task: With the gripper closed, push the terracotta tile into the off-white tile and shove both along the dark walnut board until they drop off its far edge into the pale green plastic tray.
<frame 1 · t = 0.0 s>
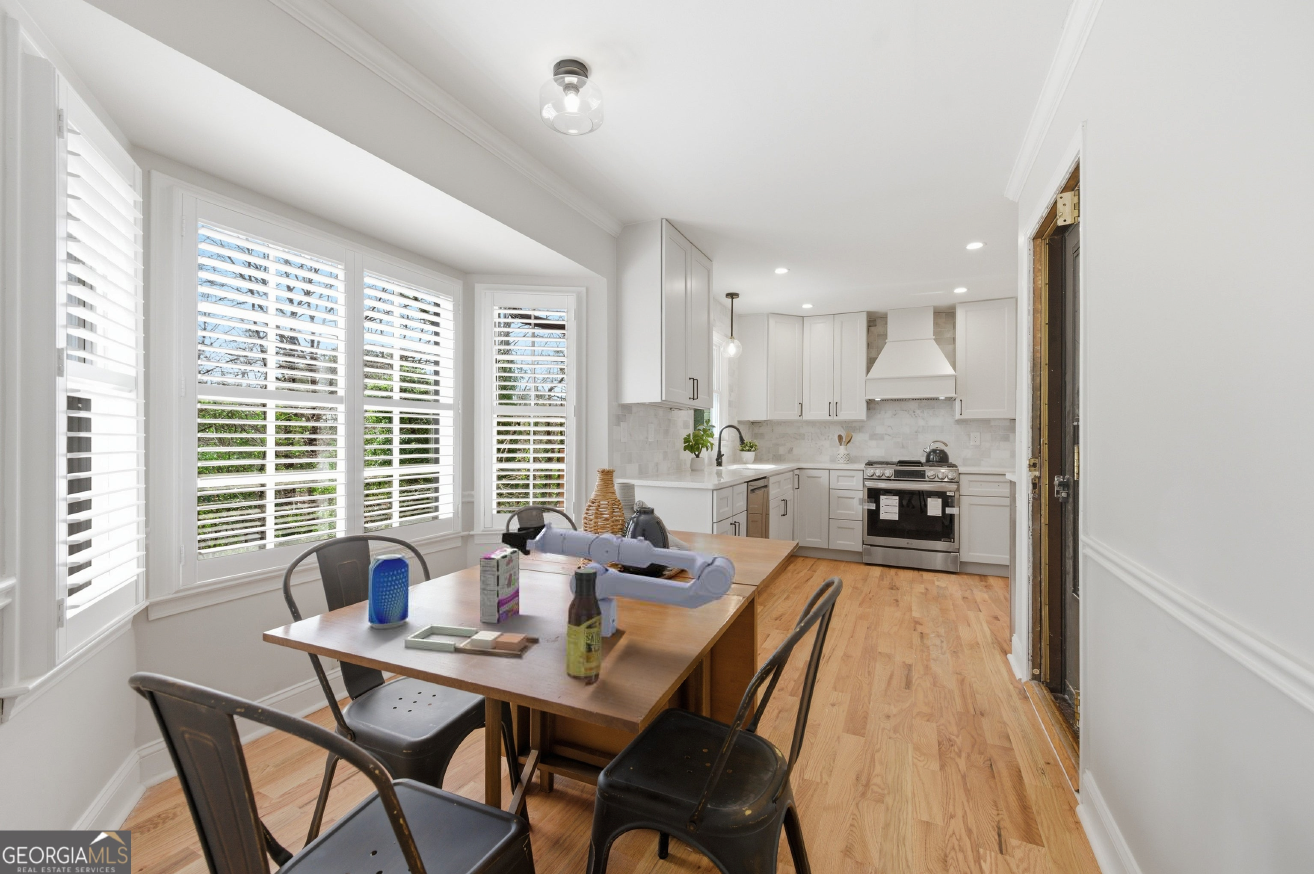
hand: (510, 534, 129), 22 cm above the table, tool horizontal, fingers open, 7 cm apart
sauce bottle: (583, 680, 104), on the table
tile 2: (511, 647, 115), point 1 cm above the table, touching board
candy bar box: (499, 622, 135), on the table
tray: (441, 647, 118), on the table
tile 1: (486, 644, 116), point 1 cm above the table, touching board
board: (497, 653, 115), on the table
beer can: (388, 624, 132), on the table
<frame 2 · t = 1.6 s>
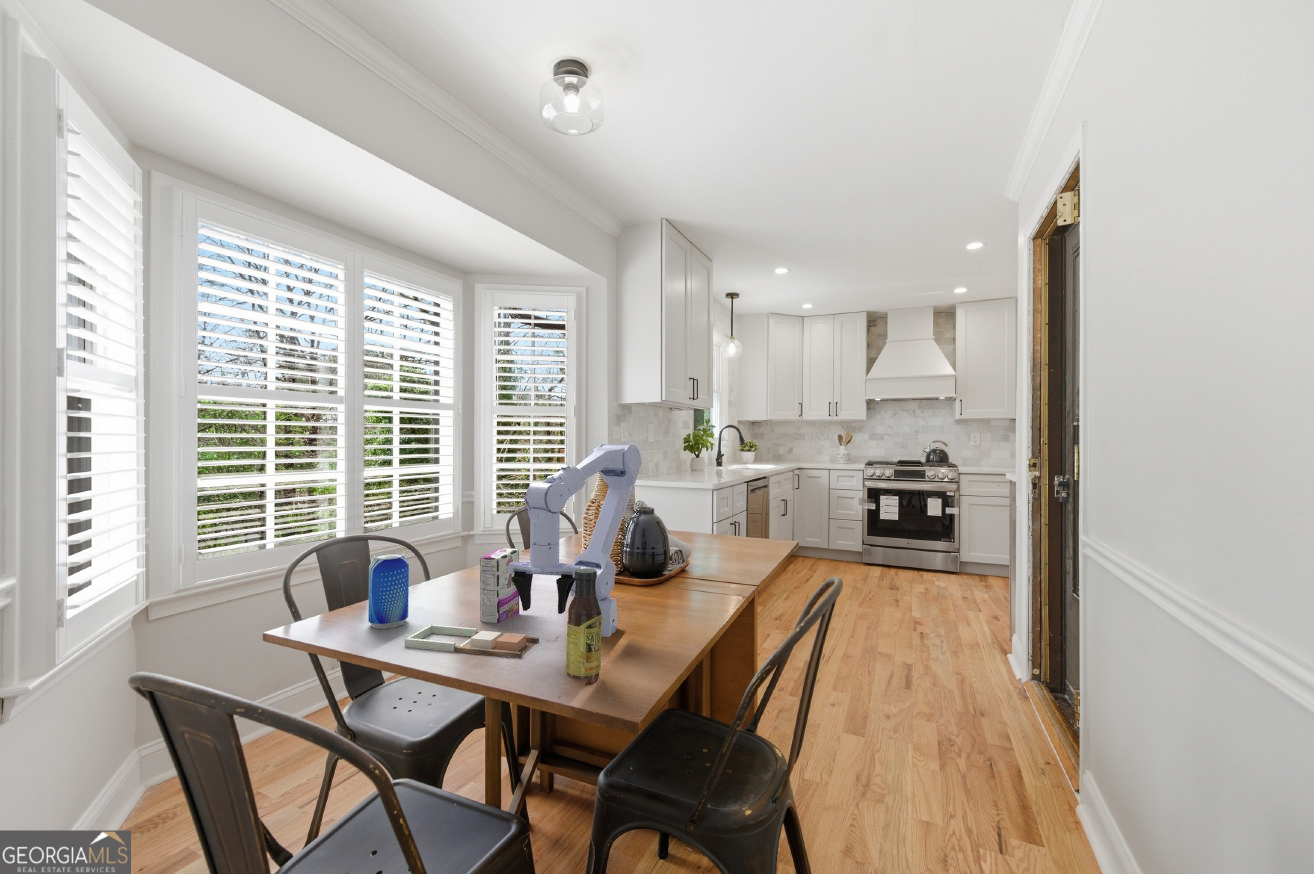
hand: (544, 610, 113), 9 cm above the table, tool pointing down, fingers open, 7 cm apart
nothing on the table moved.
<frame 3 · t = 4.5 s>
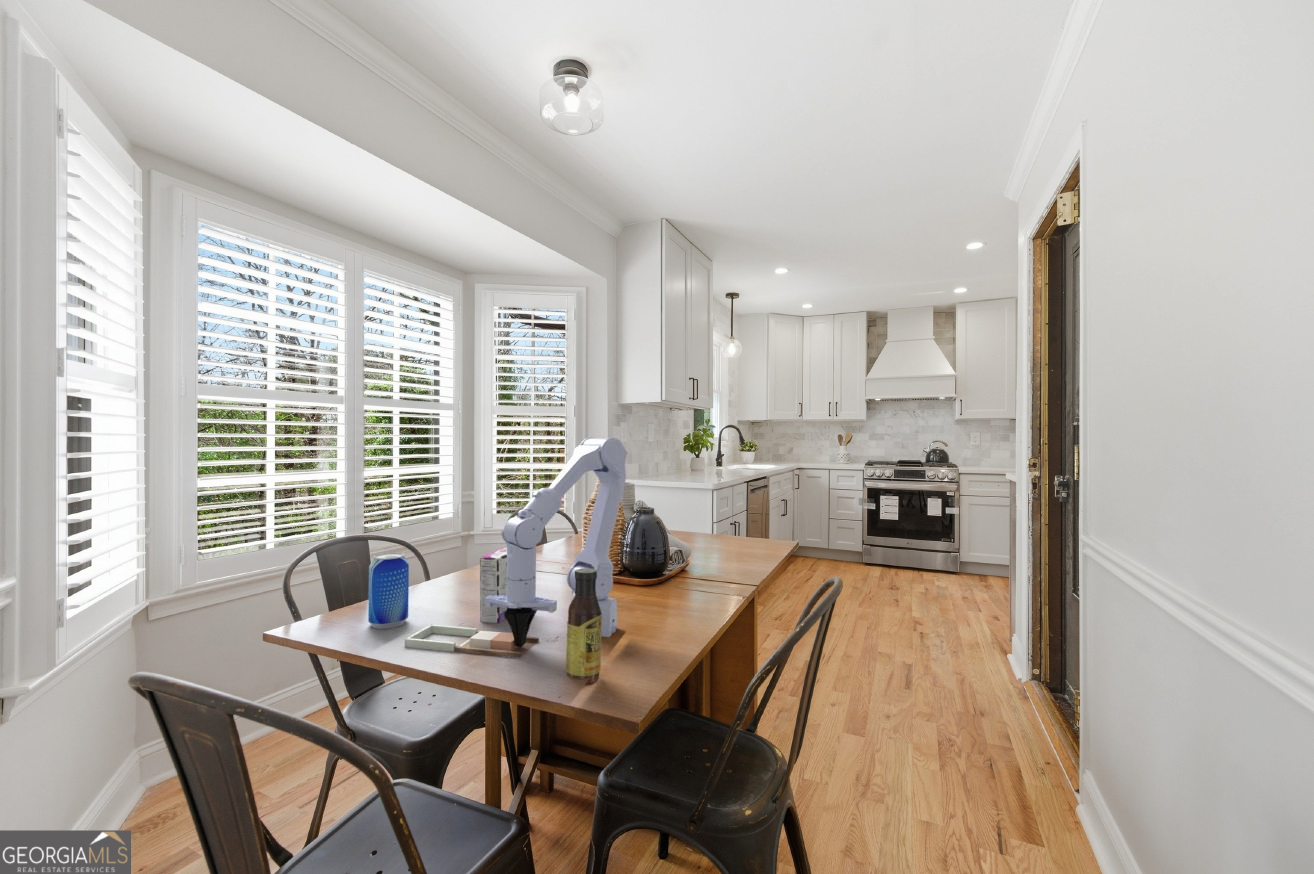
hand: (520, 644, 114), 2 cm above the table, tool pointing down, fingers closed
tile 2: (505, 646, 115), point 2 cm above the table, touching gripper, tile 1
tile 1: (485, 644, 116), point 1 cm above the table, touching board, tile 2
everything else where it was.
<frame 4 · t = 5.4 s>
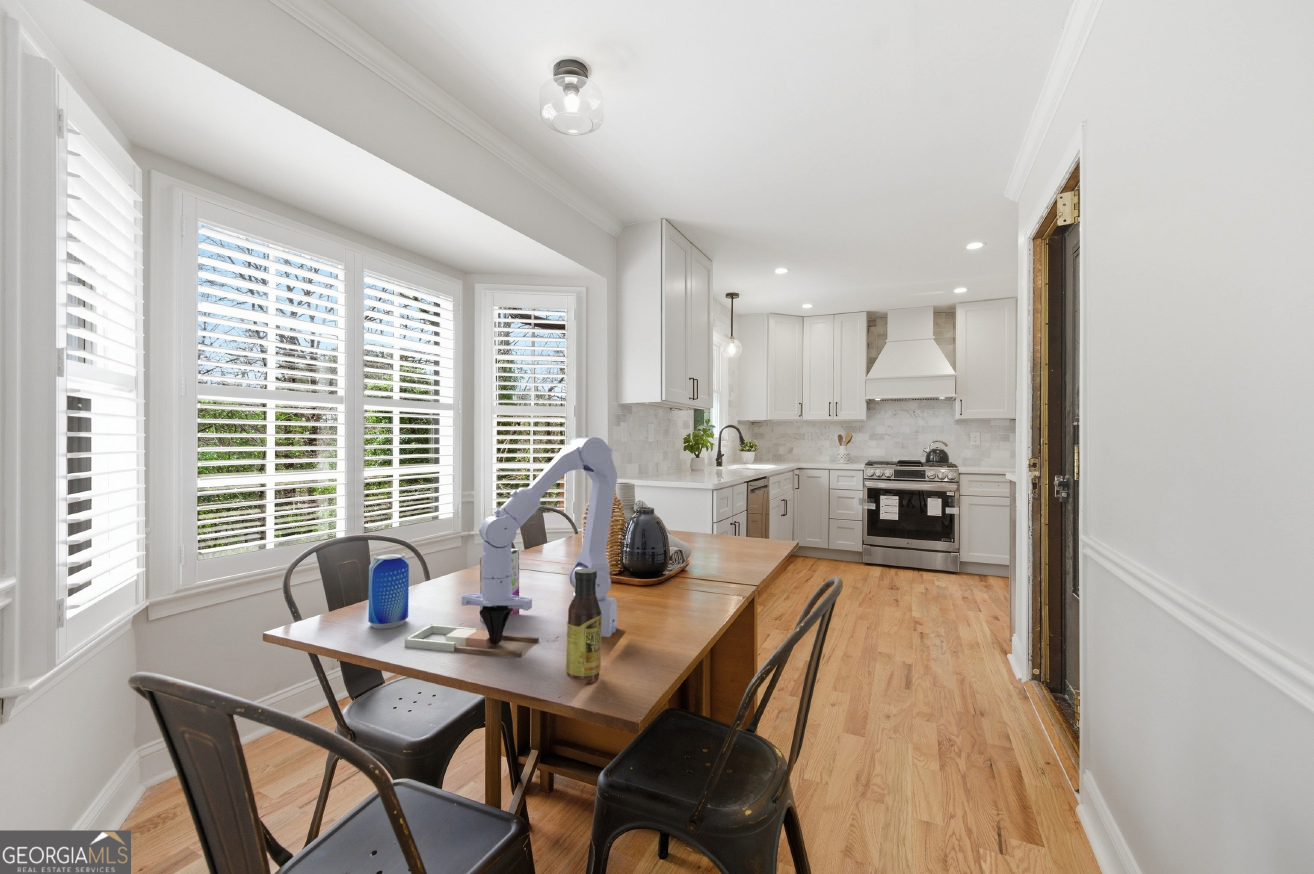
hand: (496, 642, 115), 2 cm above the table, tool pointing down, fingers closed
tile 2: (481, 644, 116), point 2 cm above the table, touching board, gripper
tile 1: (461, 642, 117), point 1 cm above the table, touching board, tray
everything else where it was.
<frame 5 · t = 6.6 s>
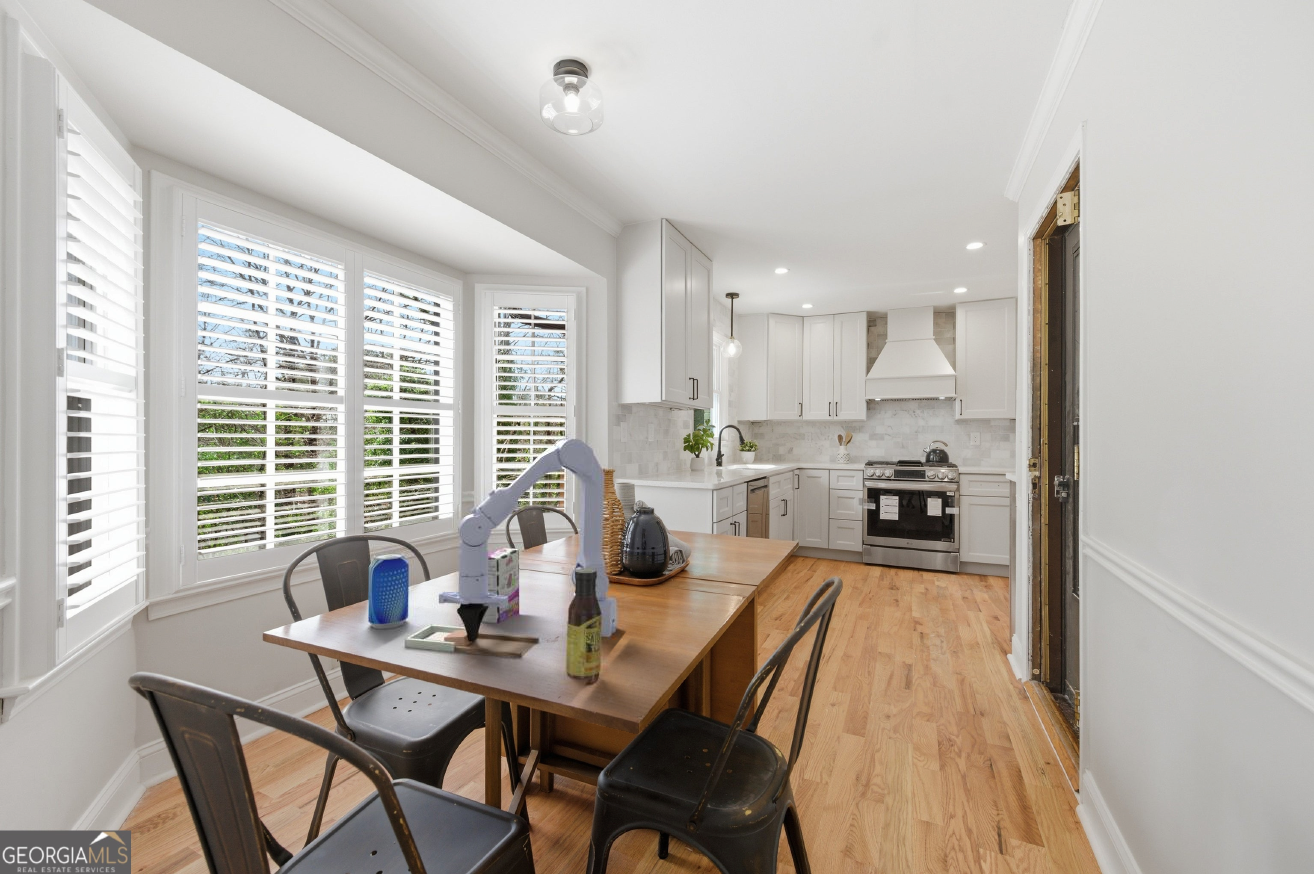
hand: (472, 640, 116), 2 cm above the table, tool pointing down, fingers closed
tile 2: (460, 642, 117), point 1 cm above the table, tilted 7°, touching gripper, tile 1, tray
tile 1: (440, 645, 118), resting on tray, touching tile 2
everything else where it was.
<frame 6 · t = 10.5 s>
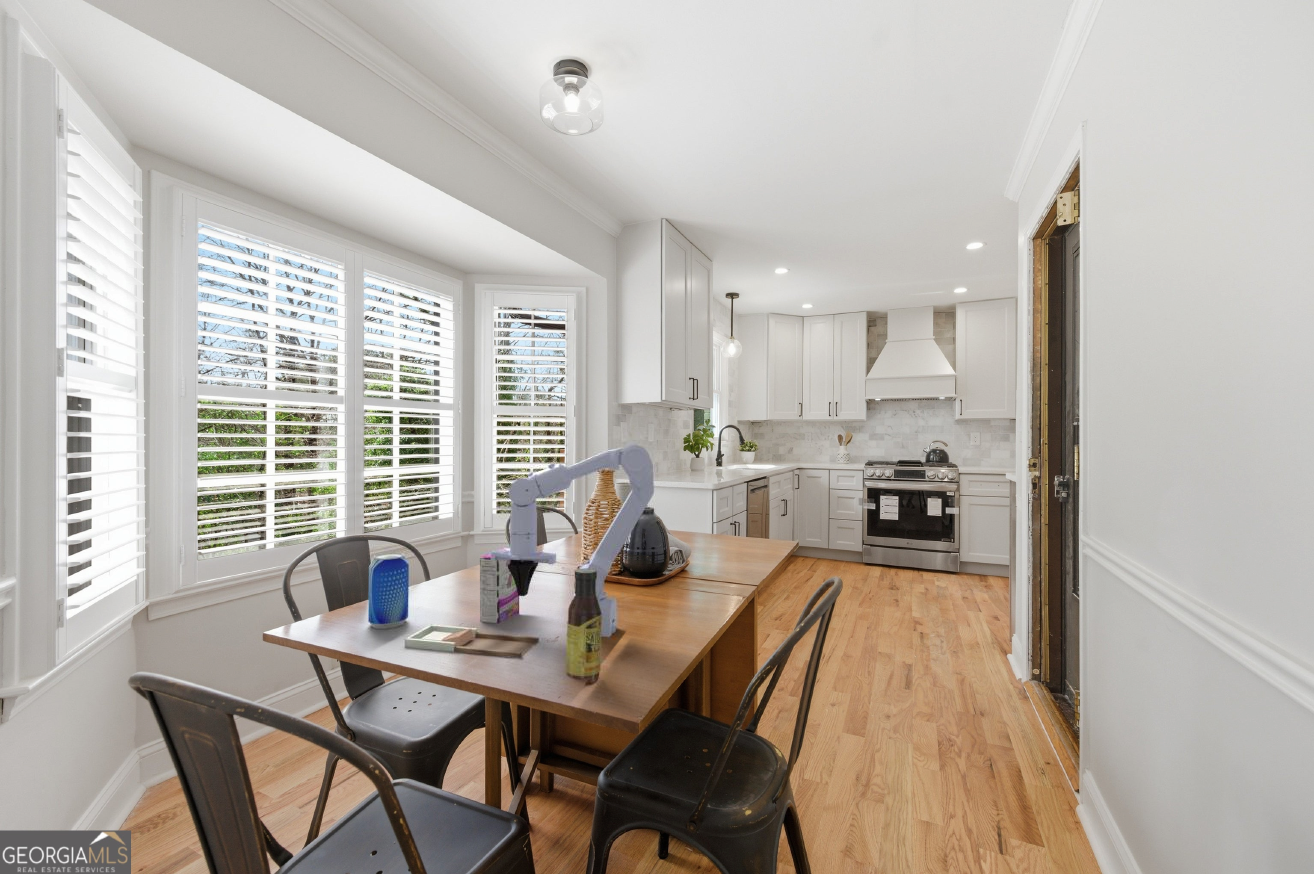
hand: (522, 594, 124), 9 cm above the table, tool pointing down, fingers closed
tile 2: (458, 644, 117), point 1 cm above the table, tilted 19°, touching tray
tile 1: (436, 645, 118), resting on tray
everything else where it was.
at the end: tile 1 inside the target area (1.3 cm from its centre), resting on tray; tile 2 inside the target area (3.8 cm from its centre), point 1.1 cm above the table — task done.
